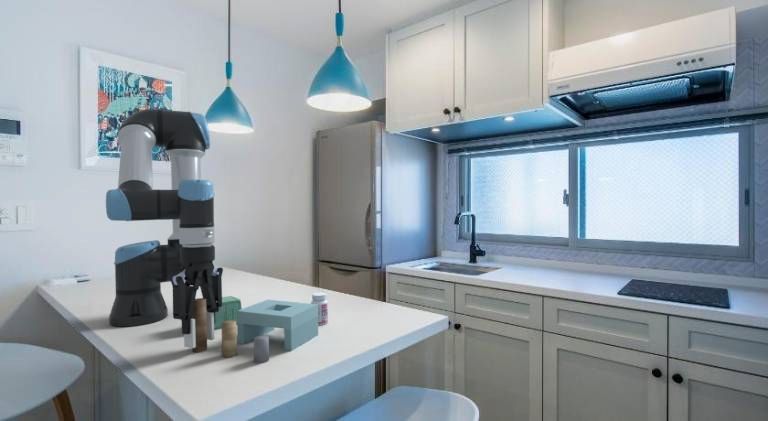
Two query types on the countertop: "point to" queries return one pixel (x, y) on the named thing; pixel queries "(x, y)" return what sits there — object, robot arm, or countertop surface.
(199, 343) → the walnut pin
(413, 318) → the countertop surface
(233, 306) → the box
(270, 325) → the bridge
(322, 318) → the pill bottle
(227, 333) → the oak pin
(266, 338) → the charcoal pin
